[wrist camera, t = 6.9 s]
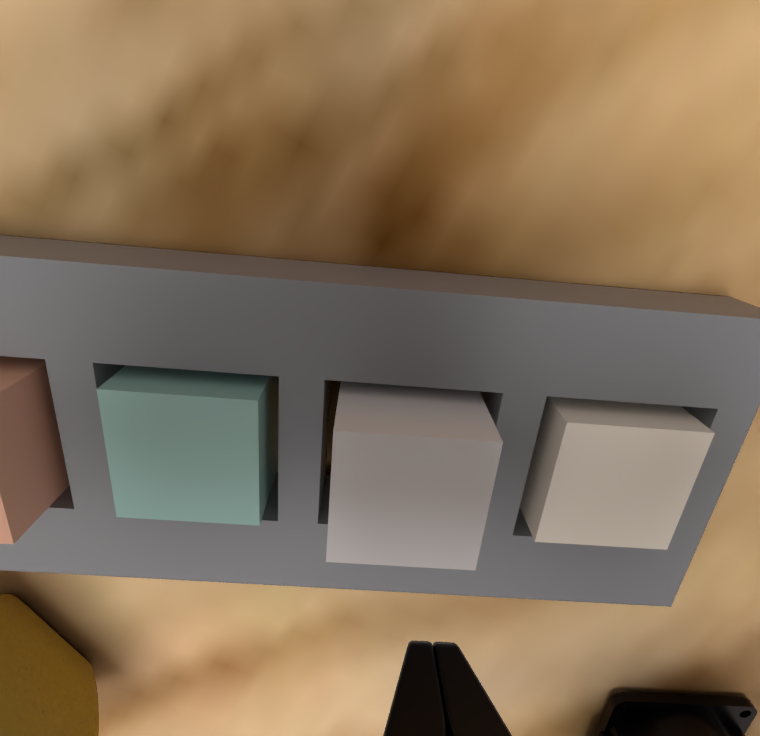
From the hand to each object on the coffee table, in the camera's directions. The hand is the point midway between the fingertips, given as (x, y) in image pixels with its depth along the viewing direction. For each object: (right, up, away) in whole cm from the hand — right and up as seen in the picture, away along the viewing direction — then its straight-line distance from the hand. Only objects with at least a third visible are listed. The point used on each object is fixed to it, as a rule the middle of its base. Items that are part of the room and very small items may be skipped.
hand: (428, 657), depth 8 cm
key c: (-6, +4, +7) cm, 10 cm away
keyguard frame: (-3, +4, +8) cm, 9 cm away
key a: (+6, +3, +8) cm, 10 cm away
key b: (0, +3, +6) cm, 7 cm away
